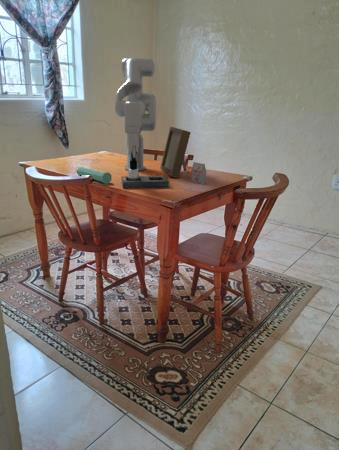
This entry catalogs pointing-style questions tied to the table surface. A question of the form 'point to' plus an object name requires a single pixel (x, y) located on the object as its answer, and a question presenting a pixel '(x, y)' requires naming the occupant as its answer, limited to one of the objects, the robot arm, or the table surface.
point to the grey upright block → (198, 173)
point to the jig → (146, 182)
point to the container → (95, 174)
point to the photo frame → (175, 152)
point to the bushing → (133, 174)
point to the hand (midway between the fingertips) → (133, 168)
